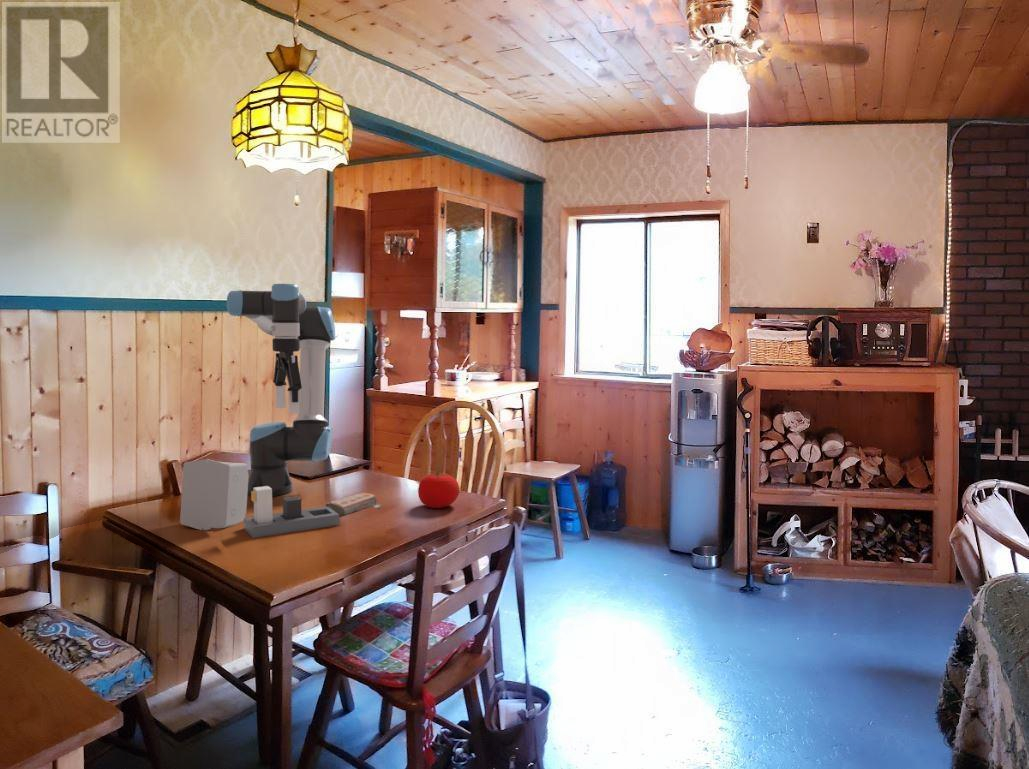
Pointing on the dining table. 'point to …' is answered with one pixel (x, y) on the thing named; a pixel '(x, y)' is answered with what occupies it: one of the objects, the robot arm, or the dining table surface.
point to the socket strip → (293, 522)
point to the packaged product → (353, 503)
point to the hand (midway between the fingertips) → (287, 410)
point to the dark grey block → (291, 508)
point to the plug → (262, 504)
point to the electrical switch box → (213, 494)
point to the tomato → (438, 490)
